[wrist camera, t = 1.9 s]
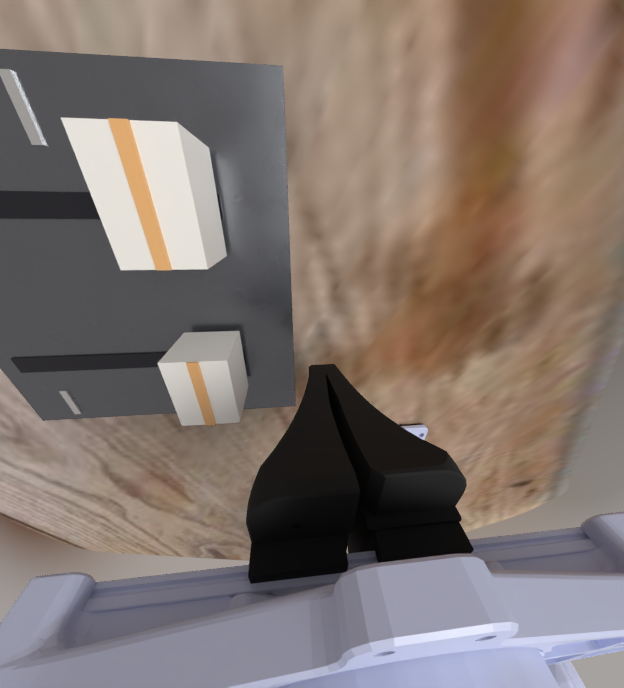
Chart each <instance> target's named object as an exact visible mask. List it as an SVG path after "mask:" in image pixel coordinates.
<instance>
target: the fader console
mask: <svg viewBox="0 0 624 688" xmlns="http://www.w3.org/2000/svg"><path fill="white" fill-rule="evenodd" d="M61 117H62V118H87V119H108V118H118V119H128V120H139V121H165V122H178V123H179V124H180V125H181V126H183V127H184V128H185V129H186V130H188V131H189V132H190V133H191V134H192V135H194V136H195V137H196V138H197V139H199V140H200V141H201V142H202V143H204V144H205V145H206V146H207V147H209V151H210V157H211V163H212V169H213V175H214V181H215V187H216V193H217V199H218V205H219V211H220V217H221V223H222V229H223V235H224V241H225V247H226V253H227V256H226V257H225V258H223V259H222V260H220V261H219V262H218V263H216V264H215V265H213V266H212V267H210V268H209V269H192V270H120V267H119V265H118V262H117V260H116V257H115V255H114V252H113V249H112V247H111V244H110V242H109V239H108V237H107V234H106V232H105V229H104V227H103V224H102V221H101V219H100V216H99V214H98V211H97V209H96V206H95V204H94V201H93V199H92V196H91V194H90V191H89V188H88V186H87V183H86V181H85V178H84V176H83V173H82V171H81V168H80V166H79V163H78V161H77V158H76V155H75V153H74V150H73V148H72V145H71V143H70V140H69V138H68V135H67V133H66V130H65V127H64V125H63V122H62V120H61ZM218 331H239V332H240V338H241V344H242V350H243V356H244V362H245V368H246V374H247V380H248V390H247V395H246V399H245V403H244V408H243V409H251V408H269V407H286V406H296V404H295V377H294V350H293V323H292V296H291V269H290V243H289V216H288V189H287V162H286V135H285V108H284V82H283V66H279V65H262V64H245V63H229V62H212V61H195V60H178V59H162V58H145V57H128V56H111V55H94V54H78V53H61V52H44V51H27V50H10V49H0V368H1V369H2V371H3V372H4V373H5V374H6V376H7V377H8V378H9V379H10V381H11V382H12V383H13V384H14V385H15V387H16V388H17V389H18V390H19V392H20V393H21V394H22V395H23V397H24V398H25V399H26V400H27V401H28V403H29V404H30V405H31V406H32V408H33V409H34V410H35V411H36V413H37V414H38V415H39V416H40V417H41V419H42V420H43V421H44V420H61V419H78V418H96V417H113V416H130V415H148V414H165V413H177V412H176V409H175V407H174V404H173V402H172V399H171V397H170V394H169V392H168V389H167V387H166V384H165V382H164V379H163V376H162V374H161V371H160V369H159V366H158V364H157V363H158V362H159V361H160V360H161V359H162V357H163V356H164V355H165V354H166V353H167V352H168V350H169V349H170V348H171V347H172V346H173V345H174V344H175V342H176V341H177V340H178V339H179V338H180V337H181V335H182V334H183V333H186V332H218Z"/></svg>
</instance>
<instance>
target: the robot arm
mask: <svg viewBox="0 0 624 688" xmlns="http://www.w3.org/2000/svg"><path fill="white" fill-rule="evenodd" d="M427 431H428V429H427V427H426V426H425V425H411V426H399V425H398V424H396V423H395V422H393V421H392V420H390V419H389V418H388V417H386V416H385V415H384V414H382V413H381V412H380V411H378V410H377V409H376V408H375V407H374V406H372V405H371V404H370V403H369V402H368V401H367V400H366V399H365V398H364V397H363V396H362V395H361V394H360V393H359V392H358V391H357V390H356V389H355V388H354V387H353V386H352V385H351V384H350V383H349V381H348V380H347V379H346V378H345V377H344V376H343V374H342V373H341V372H340V371H339V369H338V368H337V367H336V365H335V364H325V365H311V366H310V367H309V379H308V383H307V387H306V390H305V393H304V396H303V399H302V402H301V404H300V406H299V409H298V411H297V413H296V415H295V417H294V419H293V421H292V423H291V424H290V426H289V428H288V430H287V431H286V433H285V434H284V436H283V437H282V439H281V440H280V442H279V443H278V445H277V446H276V448H275V449H274V450H273V452H272V453H271V454H270V455H269V457H268V458H267V459H266V460H265V461H264V463H263V464H262V465H261V467H260V469H259V471H258V474H257V476H256V479H255V481H254V484H253V487H252V490H251V494H250V498H249V502H248V509H247V517H246V524H247V528H248V531H249V535H250V538H251V542H252V544H251V553H250V562H249V565H244V566H235V567H226V568H217V569H209V570H200V571H191V572H182V573H173V574H165V575H156V576H148V577H138V578H130V579H121V580H112V581H104V582H96V581H95V580H94V578H93V577H92V576H90V575H88V574H86V573H80V572H72V573H63V574H54V575H45V576H36V577H35V578H33V579H31V580H30V581H29V583H28V585H27V586H26V587H25V589H24V590H23V592H22V593H21V594H20V596H19V597H18V599H17V600H16V602H15V603H14V605H13V606H12V607H11V609H10V610H9V612H8V613H7V614H6V616H5V618H4V619H3V620H2V622H1V623H0V688H586V687H585V686H584V684H583V682H582V680H581V679H580V677H579V675H578V674H577V672H576V670H575V669H574V667H573V665H572V663H571V662H570V661H571V660H576V659H581V658H587V657H592V656H597V655H602V654H608V653H613V652H618V651H624V512H617V513H608V514H600V515H596V516H593V517H591V518H589V519H587V520H586V521H585V522H583V523H582V524H581V527H576V528H567V529H560V530H550V531H542V532H533V533H524V534H516V535H506V536H497V537H489V538H480V539H471V540H469V539H468V538H467V536H466V534H465V532H464V530H463V528H462V527H461V525H460V523H459V522H460V521H461V516H460V514H459V512H458V510H457V509H456V507H455V506H456V504H457V503H458V501H459V499H460V498H461V496H462V495H463V493H464V491H465V488H466V479H465V477H464V476H463V474H462V473H461V471H460V470H459V468H458V466H457V465H456V463H455V462H454V461H453V459H452V458H451V457H450V455H449V454H448V453H447V451H445V450H443V449H441V448H439V447H437V446H435V445H433V444H431V443H429V442H427V441H425V440H424V439H425V437H426V434H427ZM347 545H348V553H349V554H347V553H346V550H347Z"/></svg>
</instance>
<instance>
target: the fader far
mask: <svg viewBox="0 0 624 688" xmlns="http://www.w3.org/2000/svg"><path fill="white" fill-rule="evenodd" d="M157 364H158V366H159V369H160V371H161V374H162V376H163V379H164V382H165V384H166V387H167V389H168V392H169V394H170V397H171V399H172V402H173V404H174V407H175V409H176V412H177V415H178V417H179V420H180V422H181V425H182V426H190V425H206V426H214V425H216V424H222V423H238V422H240V421H241V416H242V412H243V408H244V403H245V399H246V395H247V390H248V380H247V374H246V368H245V362H244V356H243V350H242V344H241V338H240V332H239V331H218V332H186V333H183V334H182V335H181V337H180V338H179V339H178V340H177V341H176V342H175V344H174V345H173V346H172V347H171V348H170V349H169V350H168V352H167V353H166V354H165V355H164V356H163V357H162V359H161V360H160V361H159V362H158V363H157Z"/></svg>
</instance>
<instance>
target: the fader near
mask: <svg viewBox="0 0 624 688" xmlns="http://www.w3.org/2000/svg"><path fill="white" fill-rule="evenodd" d="M61 120H62V122H63V125H64V127H65V130H66V133H67V135H68V138H69V140H70V143H71V145H72V148H73V150H74V153H75V155H76V158H77V161H78V163H79V166H80V168H81V171H82V173H83V176H84V178H85V181H86V183H87V186H88V188H89V191H90V194H91V196H92V199H93V201H94V204H95V206H96V209H97V211H98V214H99V216H100V219H101V221H102V224H103V227H104V229H105V232H106V234H107V237H108V239H109V242H110V244H111V247H112V249H113V252H114V255H115V257H116V260H117V262H118V265H119V267H120V270H192V269H209V268H210V267H212V266H213V265H215V264H216V263H218V262H219V261H220V260H222V259H223V258H225V257H226V256H227V253H226V247H225V241H224V235H223V229H222V223H221V217H220V211H219V205H218V199H217V193H216V187H215V181H214V175H213V169H212V163H211V157H210V151H209V147H207V146H206V145H205V144H204V143H202V142H201V141H200V140H199V139H197V138H196V137H195V136H194V135H192V134H191V133H190V132H189V131H188V130H186V129H185V128H184V127H183V126H181V125H180V124H179V123H178V122H165V121H139V120H128V119H118V118H108V119H87V118H62V117H61Z"/></svg>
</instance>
